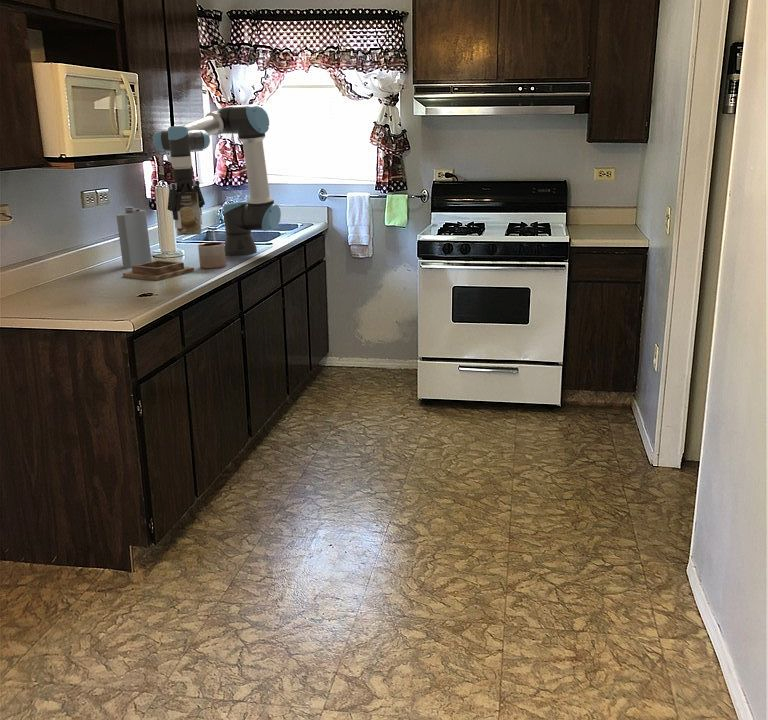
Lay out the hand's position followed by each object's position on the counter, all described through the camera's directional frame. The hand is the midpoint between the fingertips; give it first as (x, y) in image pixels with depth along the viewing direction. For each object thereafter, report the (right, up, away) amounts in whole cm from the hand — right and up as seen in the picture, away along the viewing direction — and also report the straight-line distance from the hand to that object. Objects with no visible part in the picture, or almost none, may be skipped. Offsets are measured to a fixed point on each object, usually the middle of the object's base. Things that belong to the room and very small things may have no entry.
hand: (188, 226), depth 313 cm
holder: (-16, -17, +14) cm, 27 cm away
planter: (+4, -13, +25) cm, 29 cm away
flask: (-32, -11, +37) cm, 50 cm away
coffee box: (0, -3, +1) cm, 3 cm away
